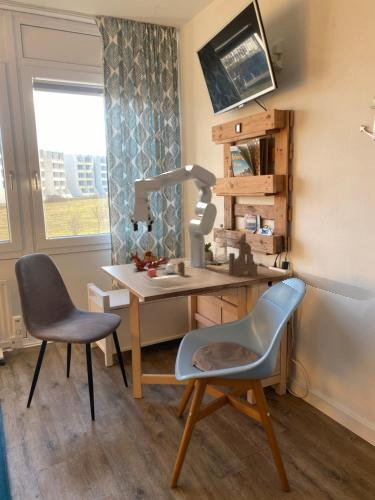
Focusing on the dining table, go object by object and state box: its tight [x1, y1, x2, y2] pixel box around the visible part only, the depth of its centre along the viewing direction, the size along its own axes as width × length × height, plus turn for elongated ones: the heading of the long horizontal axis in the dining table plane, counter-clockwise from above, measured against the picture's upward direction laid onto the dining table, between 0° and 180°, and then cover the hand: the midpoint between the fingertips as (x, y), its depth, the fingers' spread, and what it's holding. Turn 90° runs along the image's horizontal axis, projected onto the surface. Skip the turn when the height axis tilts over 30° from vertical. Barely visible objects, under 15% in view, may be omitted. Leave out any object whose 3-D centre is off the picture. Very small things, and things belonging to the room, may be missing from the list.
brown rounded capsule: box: [177, 261, 186, 277], centre depth 218 cm, size 4×4×8 cm
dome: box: [165, 262, 176, 273], centre depth 222 cm, size 5×5×5 cm
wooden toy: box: [228, 232, 258, 277], centre depth 221 cm, size 16×7×25 cm, turn 101°
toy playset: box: [130, 250, 171, 272], centre depth 244 cm, size 35×26×14 cm
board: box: [142, 268, 186, 282], centre depth 218 cm, size 23×14×5 cm, turn 117°
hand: (142, 231), depth 219 cm, fingers open, 9 cm apart
